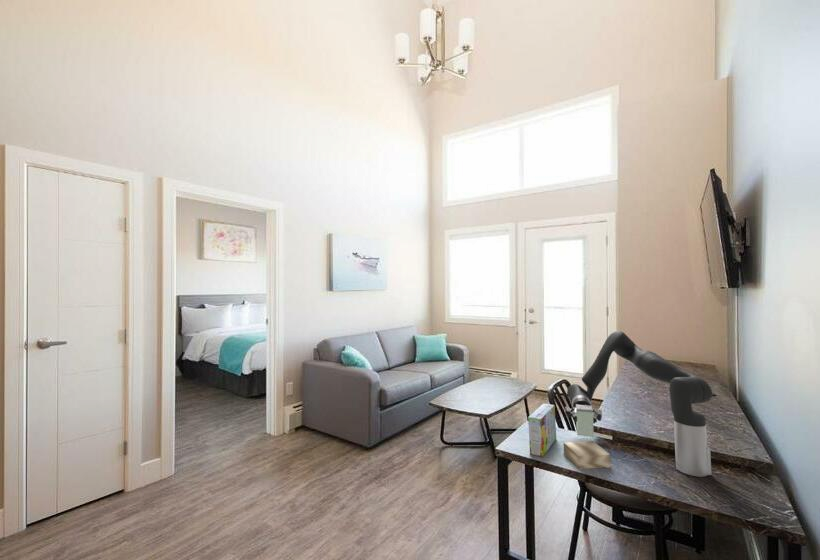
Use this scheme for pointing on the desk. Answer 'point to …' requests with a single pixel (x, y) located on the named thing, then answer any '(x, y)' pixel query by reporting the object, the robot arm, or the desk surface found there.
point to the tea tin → (584, 420)
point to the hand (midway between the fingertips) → (585, 419)
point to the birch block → (587, 454)
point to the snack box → (542, 429)
